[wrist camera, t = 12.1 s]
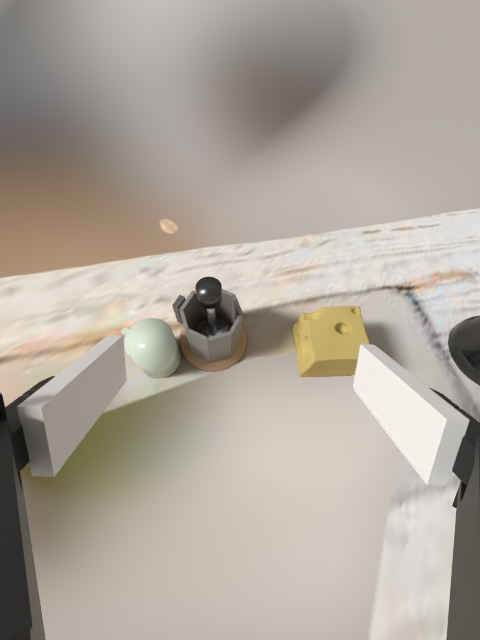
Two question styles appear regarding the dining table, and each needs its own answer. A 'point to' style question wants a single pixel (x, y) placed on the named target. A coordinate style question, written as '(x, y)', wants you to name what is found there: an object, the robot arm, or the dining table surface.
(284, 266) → the dining table surface
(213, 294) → the plunger
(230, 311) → the grey octagonal cup
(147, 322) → the pale green dome knob
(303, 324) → the cheese
